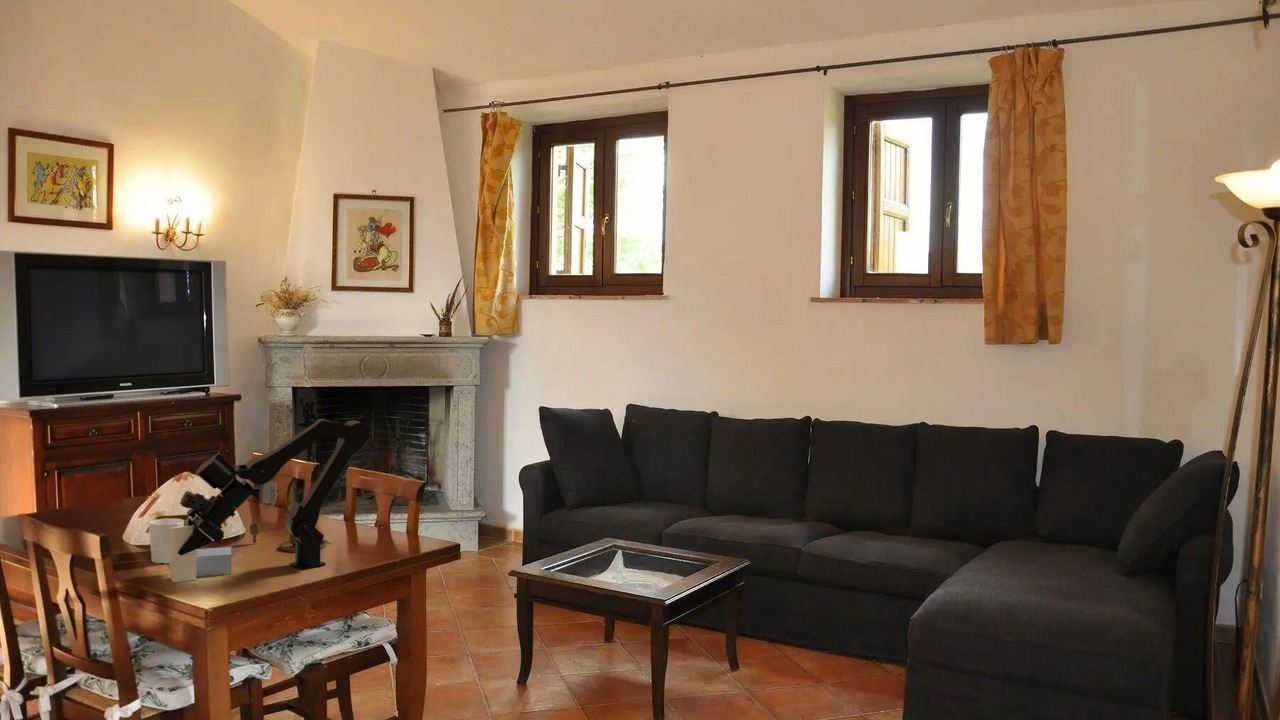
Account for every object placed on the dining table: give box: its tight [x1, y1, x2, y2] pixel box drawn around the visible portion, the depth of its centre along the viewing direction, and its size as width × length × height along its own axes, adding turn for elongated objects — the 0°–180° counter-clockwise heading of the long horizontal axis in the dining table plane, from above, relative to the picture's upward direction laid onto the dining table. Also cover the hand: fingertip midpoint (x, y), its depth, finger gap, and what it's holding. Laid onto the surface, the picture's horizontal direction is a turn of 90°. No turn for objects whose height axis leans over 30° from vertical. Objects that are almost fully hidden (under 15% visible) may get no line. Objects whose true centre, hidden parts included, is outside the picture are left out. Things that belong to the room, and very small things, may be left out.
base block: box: [196, 546, 232, 577], centre depth 241 cm, size 8×8×5 cm
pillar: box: [169, 526, 198, 584], centre depth 233 cm, size 5×5×12 cm
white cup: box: [148, 518, 184, 564], centre depth 250 cm, size 8×8×10 cm
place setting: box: [249, 523, 333, 553], centre depth 270 cm, size 18×20×6 cm
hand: (177, 551), depth 233 cm, fingers closed on pillar, 5 cm apart
